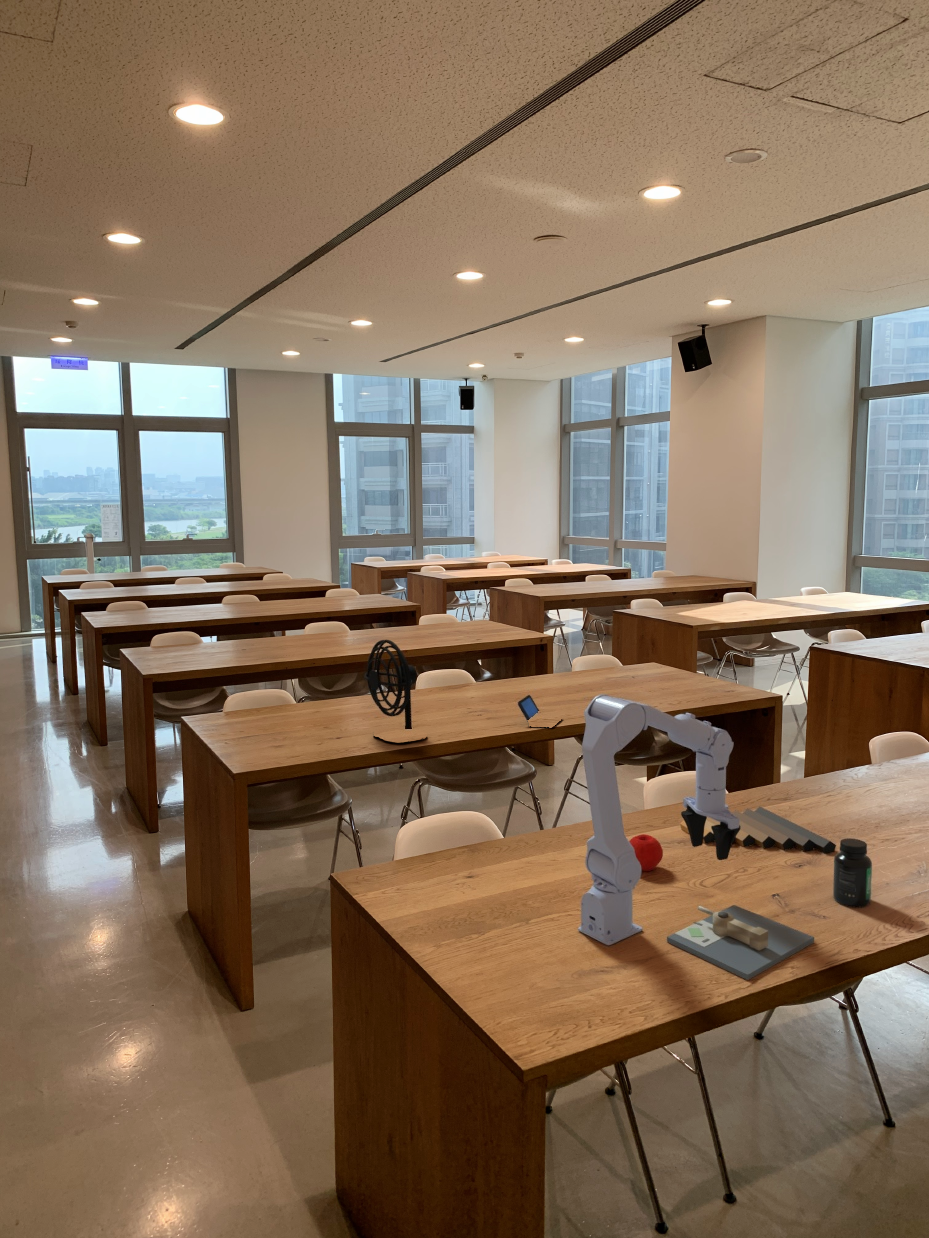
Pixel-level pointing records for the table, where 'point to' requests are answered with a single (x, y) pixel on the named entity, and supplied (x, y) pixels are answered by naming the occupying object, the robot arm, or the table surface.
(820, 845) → the pan flute
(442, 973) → the table surface
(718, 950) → the grey square board
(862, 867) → the supplement bottle
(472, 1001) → the table surface
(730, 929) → the peg lever
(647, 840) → the apple
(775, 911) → the table surface
